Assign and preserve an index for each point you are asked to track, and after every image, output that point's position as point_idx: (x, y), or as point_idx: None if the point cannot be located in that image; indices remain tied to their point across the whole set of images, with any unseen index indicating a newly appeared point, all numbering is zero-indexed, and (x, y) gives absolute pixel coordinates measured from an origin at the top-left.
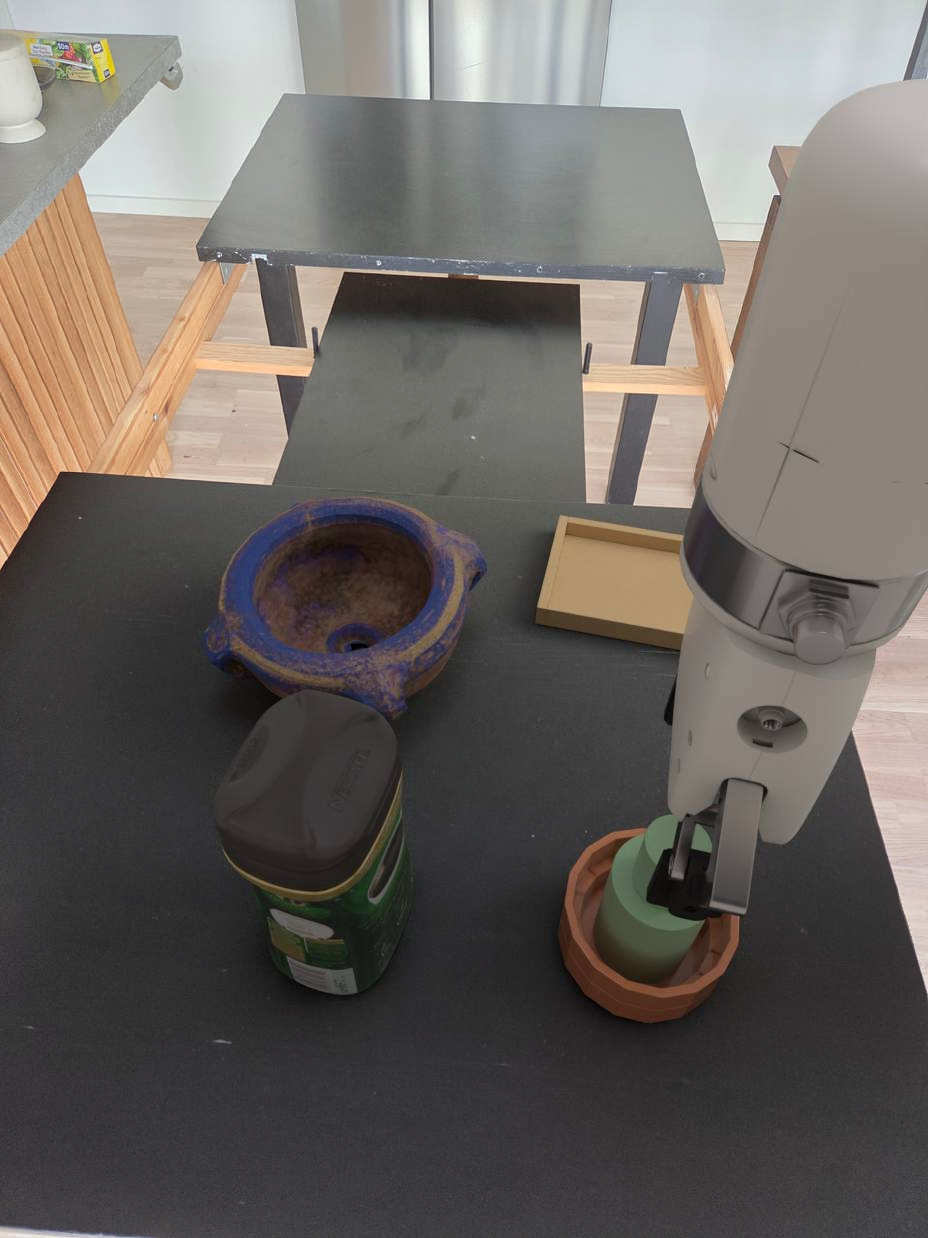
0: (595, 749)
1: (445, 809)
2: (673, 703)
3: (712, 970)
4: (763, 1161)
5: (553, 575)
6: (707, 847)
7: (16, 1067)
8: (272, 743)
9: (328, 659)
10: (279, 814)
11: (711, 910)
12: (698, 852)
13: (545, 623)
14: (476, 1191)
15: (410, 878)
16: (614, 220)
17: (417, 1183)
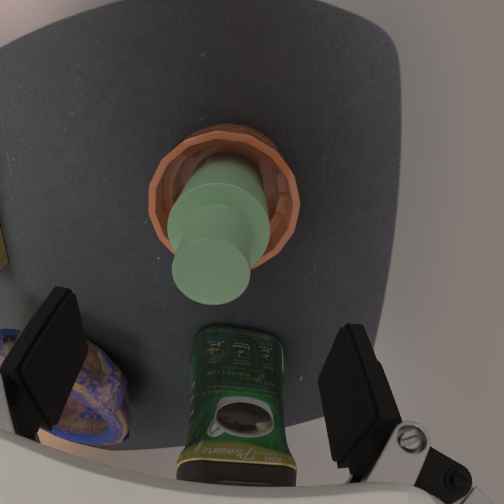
0: (78, 217)
1: (154, 310)
2: (72, 384)
3: (275, 160)
4: (369, 114)
5: None
6: (208, 244)
7: (308, 420)
8: None
9: (108, 420)
10: None
11: (387, 381)
12: (364, 474)
13: (5, 257)
14: (374, 276)
15: (220, 349)
16: None
17: (367, 301)
